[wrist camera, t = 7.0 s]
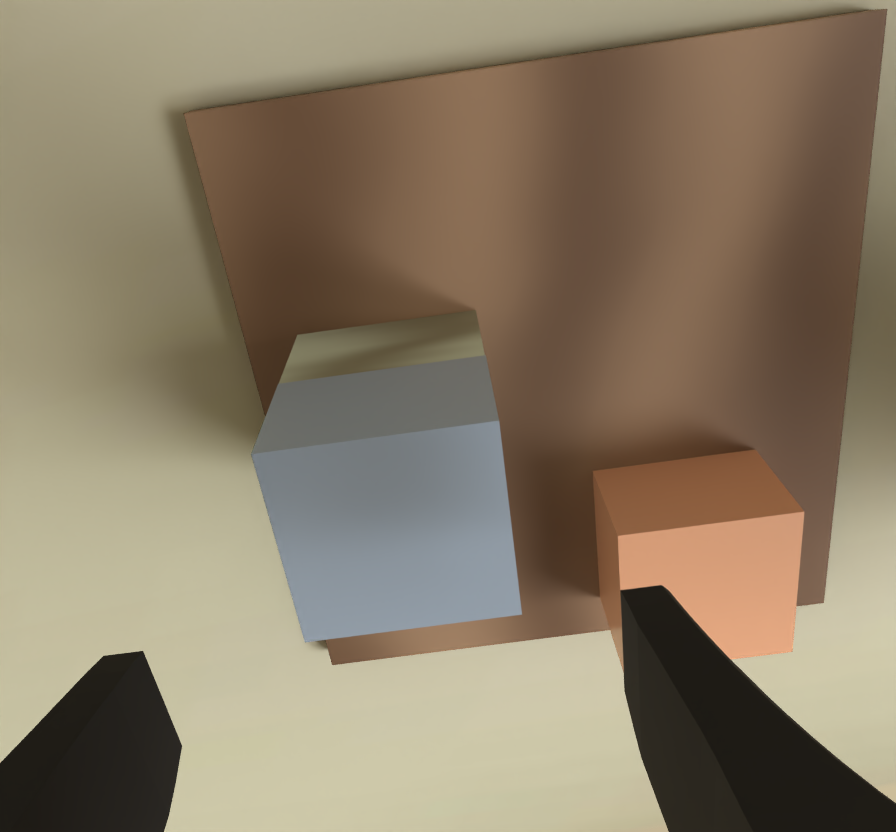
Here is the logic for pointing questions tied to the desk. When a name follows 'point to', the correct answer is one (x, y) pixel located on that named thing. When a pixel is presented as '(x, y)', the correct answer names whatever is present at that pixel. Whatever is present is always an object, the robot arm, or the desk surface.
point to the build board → (573, 268)
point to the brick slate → (390, 499)
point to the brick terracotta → (704, 546)
